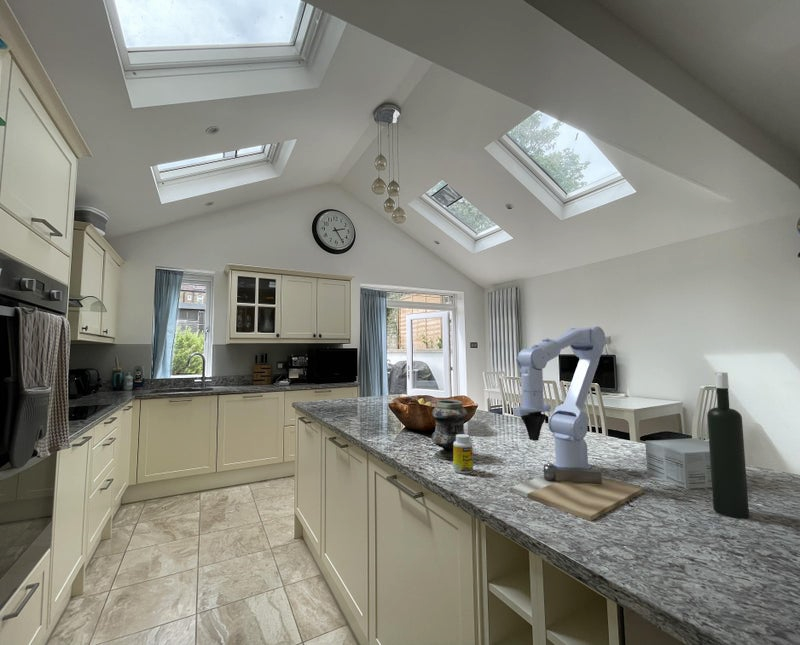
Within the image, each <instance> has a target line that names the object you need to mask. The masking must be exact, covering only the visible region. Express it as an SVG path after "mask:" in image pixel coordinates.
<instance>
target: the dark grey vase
mask: <svg viewBox="0 0 800 645" xmlns="http://www.w3.org/2000/svg"><path fill="white" fill-rule="evenodd" d="M431 415H432V417H433V418H434V419H435V430H434V432H433V433H432V434H431V441H432V443H433V444H434V445H436V446H438V447H439V448H441V449H440V450H438V451H436V452H435V453H434V457H436V458H439V459H441V460H453V461H454V459H453V443H454V442H455V441H456V435H458V434H466V433H465V430H464V428H465V426H464V423H465V422H464V421H465V419H467V416H468V411H467V410H466V408H464V406H463V402H462V400H461V401H460V400H456V399H439V400H437V401H436V406H435V407H434V408H433V409H432V411H431Z"/></svg>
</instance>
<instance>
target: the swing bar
mask: <svg viewBox="0 0 800 645" xmlns="http://www.w3.org/2000/svg"><path fill="white" fill-rule="evenodd" d="M553 464H554V463H552V462H547V463H546V464H543V476H544V479H546V480H550V481H570V482H584V483H598V484H602V477H603V476H602V472H601V470H600V469H598V468H589V469H584V468H568V467H557V466H555V465H553Z"/></svg>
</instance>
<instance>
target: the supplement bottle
mask: <svg viewBox="0 0 800 645" xmlns="http://www.w3.org/2000/svg"><path fill="white" fill-rule="evenodd" d="M470 438H471V437H470V435H469V434H467V433H465V434H458V435H456V441H455V442H454V443H453V459H454V460H453V471H454V472H455V473H458V474H463V475H464V474H467V475H468V474H470V473H473V470H474V462H473V461H474V460H473V455H474V454H473V446H474V445H473V443H472V442H471V441H470V440H471V439H470Z"/></svg>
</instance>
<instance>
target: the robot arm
mask: <svg viewBox="0 0 800 645" xmlns="http://www.w3.org/2000/svg"><path fill="white" fill-rule="evenodd" d="M606 343H607V339H606V334H605V332H604V330H603V328H601V327H600V326H592V327H577V328H575V327H571V328H569V329H566V331H565V332H564V333H562V334H561V335H560V336H558V337H557V338H555V339H553V338H548V337H546V338H543V339H541V342H539V343H537V344H533V345H531V347H530V348H523V349H521V350H520V351H519V353H518V354H517V358H516V360H515V361H516V364H517V366H518V368H519V374H520V375H521V399H522V401H521V404H522V405H521V406H518V407H516V408H514V409H513V414H514V415H513V416H514V417H519V418H521V420H522V422H523V424H524V425H525V428H526V431H527V435H528V439H529V440H530V441H535V442H537V441H539V439H540V436H541V430H542V427H543V424H544V423H545V420H546V419H547V414H545V413H546V412H548V413H550V412H551V411H552V409H551V408H552V406H551V404H547V403H544V380H543V379H544V376H543V375H544V374H543V373H544V372H543V369H545V368H546V367H547V364H548V362H550V361H551V360H553V359H555V358H557V357H559V355H560V354H561V351H562V350H564V349H566V348H568V347H570V348H571V350H572V352H573V354H574V356H576V357H577V358H578V359H579V360H578V362H577V366H576V368H575V371H574V373H573V377H572V379H571V382H570V385H569V388H568V391H567V394H566V397H565V398H564V402H563V403H562V404H559V405H558V406H556V407H555V408H554V410H553V412H552V413H551V415H550V416H549V417H548V421H547V426H548V429H549V431H550V432H551V433H552V437H554V452H555V454H554V455H555V463H552V464H553V465H555V466H557V467H568V468H569V467H582V468H589V469H592V465H589V460H588V458H589V457H588V453H589V452H588V444H587V442H586V441H585V439H584V438H585V437H586V435H587V433H588V425H589V424H588V422H589V419H590V417H589V416H588V414H587V412H585V410H584V406H585V403H586V401H587V397H588V394H589V393H590V389H591V386H592V383H593V380H594V378H595V377H594V376H595V373H596V371H597V369H598V366H599V364H600V362H599V361H600V358H601V356H602V354H603V351H604V349H605V346H606Z"/></svg>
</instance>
